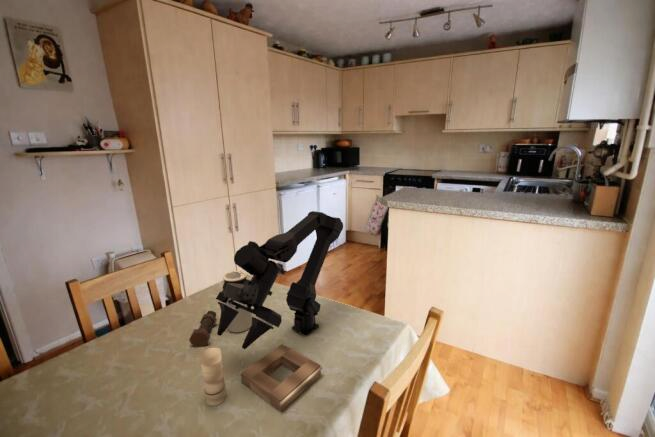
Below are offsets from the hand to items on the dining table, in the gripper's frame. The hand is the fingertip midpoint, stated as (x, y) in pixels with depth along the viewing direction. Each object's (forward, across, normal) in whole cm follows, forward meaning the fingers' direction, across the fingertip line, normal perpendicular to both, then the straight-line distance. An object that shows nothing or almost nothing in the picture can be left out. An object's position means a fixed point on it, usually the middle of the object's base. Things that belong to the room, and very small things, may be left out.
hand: (230, 341), depth 74 cm
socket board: (+3, +9, +14) cm, 17 cm away
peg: (+12, 0, +5) cm, 13 cm away
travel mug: (-4, -19, +21) cm, 28 cm away
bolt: (+2, -25, +15) cm, 29 cm away
